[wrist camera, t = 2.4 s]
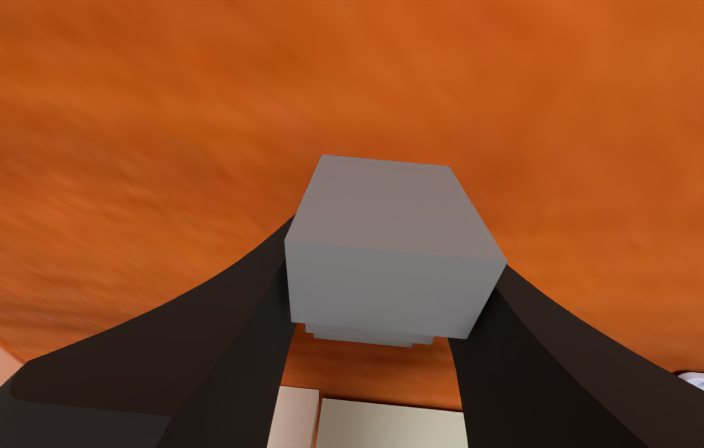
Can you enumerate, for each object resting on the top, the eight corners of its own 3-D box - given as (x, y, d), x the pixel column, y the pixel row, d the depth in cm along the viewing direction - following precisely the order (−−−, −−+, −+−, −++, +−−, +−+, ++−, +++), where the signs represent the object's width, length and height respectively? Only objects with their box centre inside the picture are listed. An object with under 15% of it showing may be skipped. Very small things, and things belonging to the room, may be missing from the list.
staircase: (448, 165, 10) (507, 262, 5) (406, 311, 14) (421, 424, 10) (322, 154, 10) (284, 240, 5) (320, 303, 14) (299, 411, 10)
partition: (577, 416, 19) (633, 520, 15) (562, 427, 20) (611, 527, 16) (240, 381, 19) (204, 474, 15) (244, 395, 20) (211, 484, 16)
